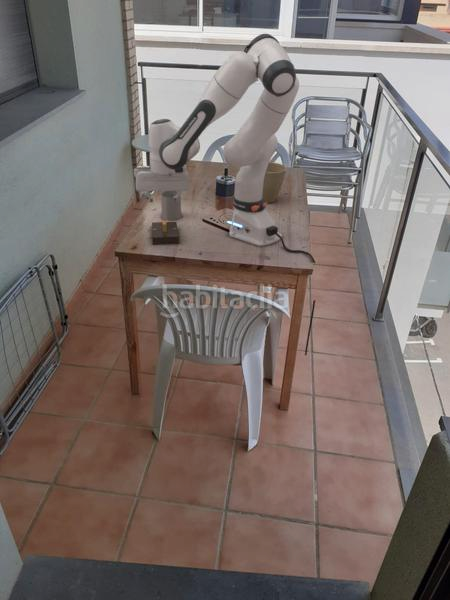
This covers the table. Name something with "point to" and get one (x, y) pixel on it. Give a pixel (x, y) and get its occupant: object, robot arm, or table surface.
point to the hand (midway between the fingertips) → (163, 201)
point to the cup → (170, 205)
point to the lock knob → (164, 225)
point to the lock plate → (164, 233)
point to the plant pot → (273, 181)
